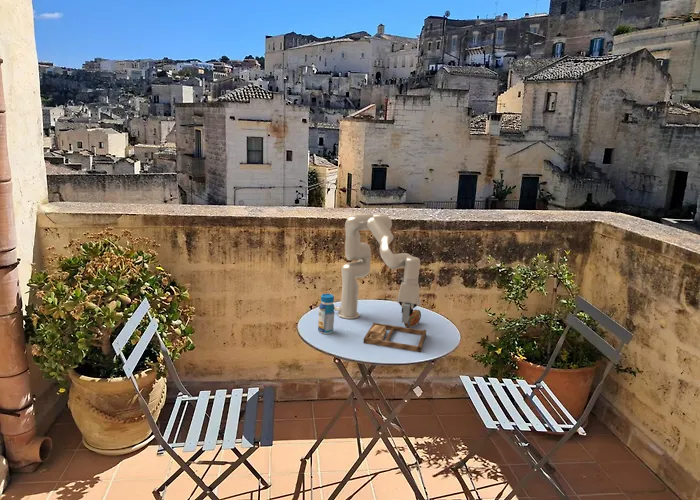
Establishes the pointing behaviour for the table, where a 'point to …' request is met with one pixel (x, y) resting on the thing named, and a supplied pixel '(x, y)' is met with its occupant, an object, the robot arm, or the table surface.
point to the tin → (414, 318)
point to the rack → (393, 344)
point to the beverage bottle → (326, 314)
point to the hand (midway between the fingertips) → (406, 314)
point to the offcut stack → (378, 332)
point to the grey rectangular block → (406, 312)
